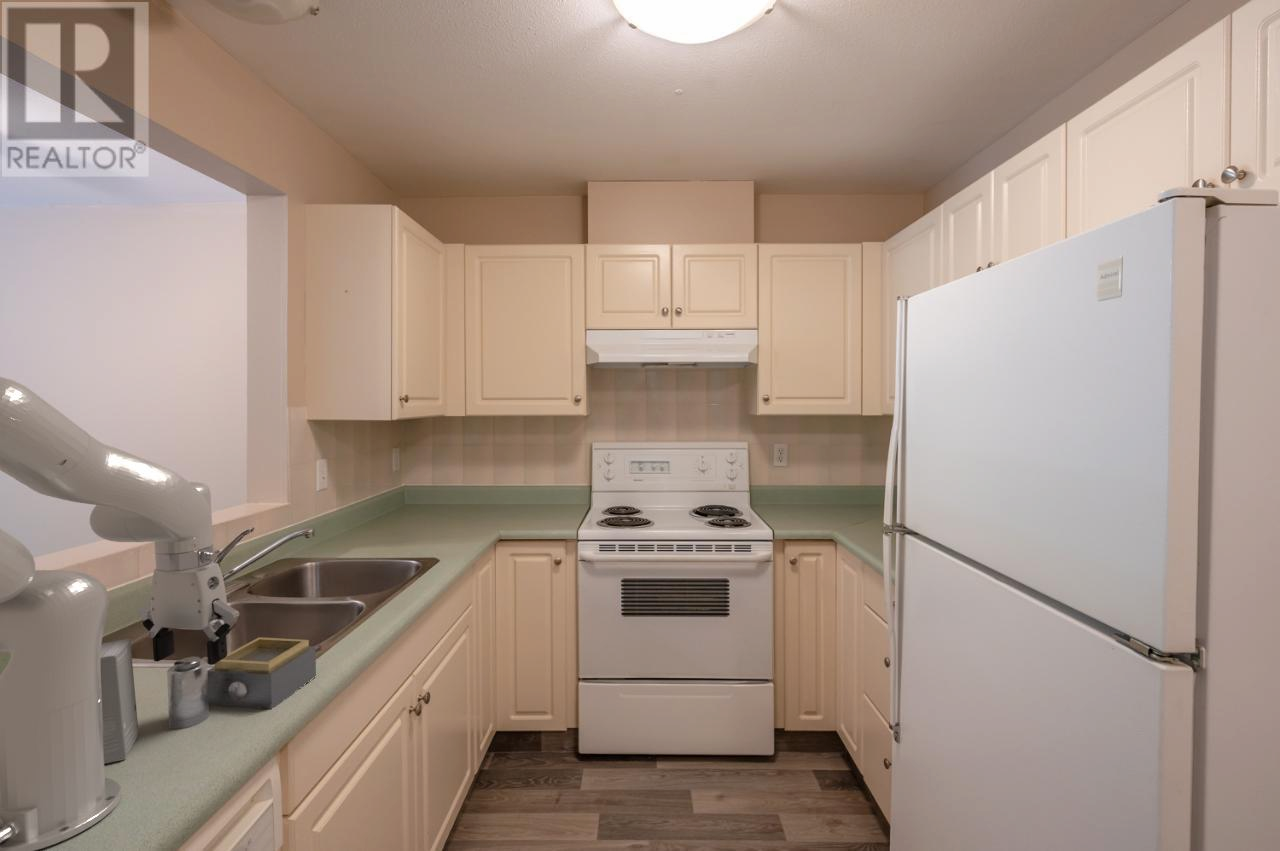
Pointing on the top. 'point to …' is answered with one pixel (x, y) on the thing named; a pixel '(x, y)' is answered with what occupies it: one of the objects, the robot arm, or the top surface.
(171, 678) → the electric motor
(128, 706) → the skincare box
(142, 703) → the top surface
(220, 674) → the grey gold trimmed box
